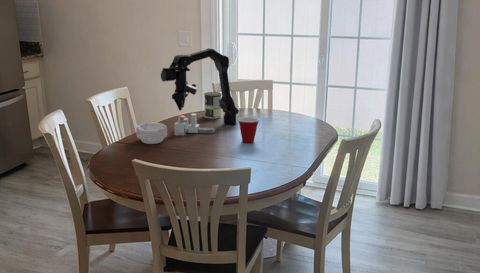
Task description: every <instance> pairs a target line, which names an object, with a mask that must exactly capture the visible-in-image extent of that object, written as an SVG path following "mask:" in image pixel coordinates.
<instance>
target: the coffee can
mask: <svg viewBox="0 0 480 273" xmlns="http://www.w3.org/2000/svg"><path fill="white" fill-rule="evenodd" d="M203 95H204V115H203V116H204V118H206V119H213V120H214V119H219V118H221V117H222V109H221V107H220V106H219V105H220V103H219V99H221V98H222V92H218V91H208V92H204V93H203Z"/></svg>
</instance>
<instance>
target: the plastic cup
mask: <svg viewBox="0 0 480 273" xmlns="http://www.w3.org/2000/svg"><path fill="white" fill-rule="evenodd" d="M237 121H238V124H239V128H240V135H241V141H242V143H244V144H253V143H254V141H255V139H256V138H255V137H256V133H257V128H258V125H259V122H260V118H256V117H255V118H254V117H239V118H237Z"/></svg>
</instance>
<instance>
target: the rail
mask: <svg viewBox="0 0 480 273" xmlns="http://www.w3.org/2000/svg"><path fill="white" fill-rule="evenodd" d="M187 133H188V128H187V132H186V134H187ZM188 134H189V133H188ZM197 134H215V128H212V127H211V128H210V127H209V128H208V127H199V128H198V133H197Z"/></svg>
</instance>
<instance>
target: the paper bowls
mask: <svg viewBox="0 0 480 273" xmlns="http://www.w3.org/2000/svg"><path fill="white" fill-rule="evenodd" d="M135 129H136V130H135V134H136V138H138V139H140V140H141V142H142V143H144V144H146V145H147V144H148V145H155V144H159V143H162V142H163V140H164V139H165V138H167V136H168V126H167V125H166V124H164V123H161V122H146V123H140V124H138V125H136V127H135Z"/></svg>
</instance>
